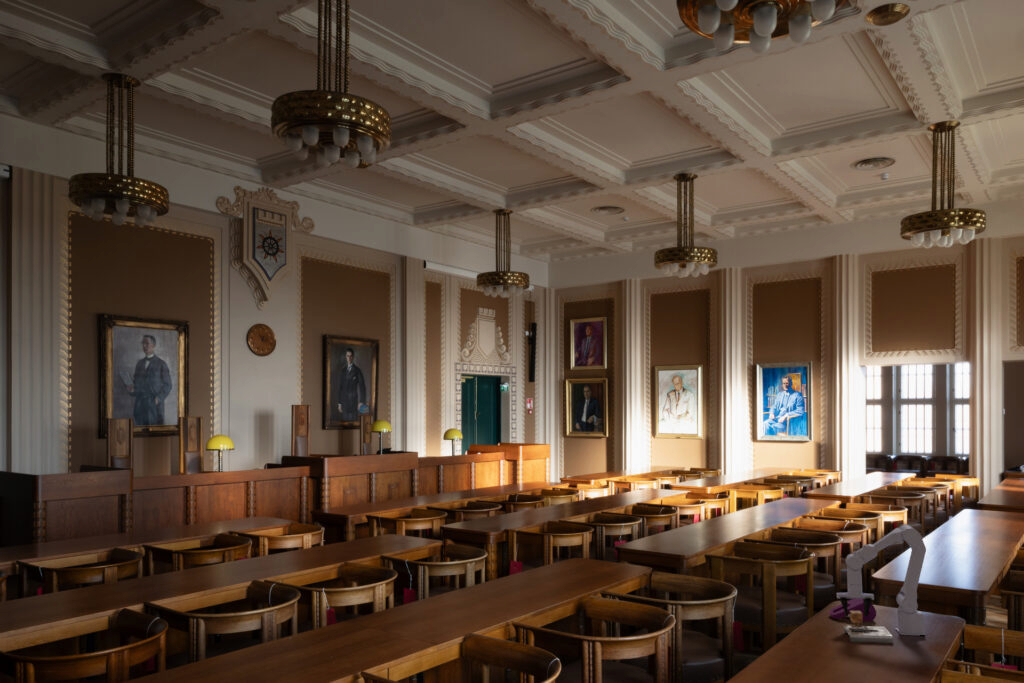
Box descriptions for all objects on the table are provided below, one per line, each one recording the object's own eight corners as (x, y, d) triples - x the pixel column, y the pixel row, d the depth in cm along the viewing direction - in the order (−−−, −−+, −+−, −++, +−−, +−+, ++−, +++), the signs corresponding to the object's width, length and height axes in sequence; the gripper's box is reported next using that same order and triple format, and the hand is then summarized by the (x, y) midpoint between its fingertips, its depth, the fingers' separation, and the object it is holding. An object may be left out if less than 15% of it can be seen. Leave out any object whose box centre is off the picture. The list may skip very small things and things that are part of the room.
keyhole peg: (860, 628, 333) (859, 610, 333) (863, 631, 329) (862, 613, 330) (850, 628, 334) (849, 610, 334) (853, 631, 330) (852, 613, 330)
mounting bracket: (841, 634, 345) (879, 617, 342) (831, 616, 346) (870, 599, 343) (836, 627, 354) (873, 611, 352) (827, 610, 355) (864, 593, 353)
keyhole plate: (884, 634, 326) (884, 626, 326) (893, 643, 314) (892, 636, 314) (844, 632, 329) (843, 625, 329) (850, 642, 317) (850, 634, 317)
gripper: (870, 581, 335) (871, 613, 334) (834, 580, 338) (835, 612, 337) (874, 585, 328) (876, 618, 327) (838, 584, 331) (839, 617, 330)
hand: (856, 615), depth 332 cm, fingers open, 7 cm apart
